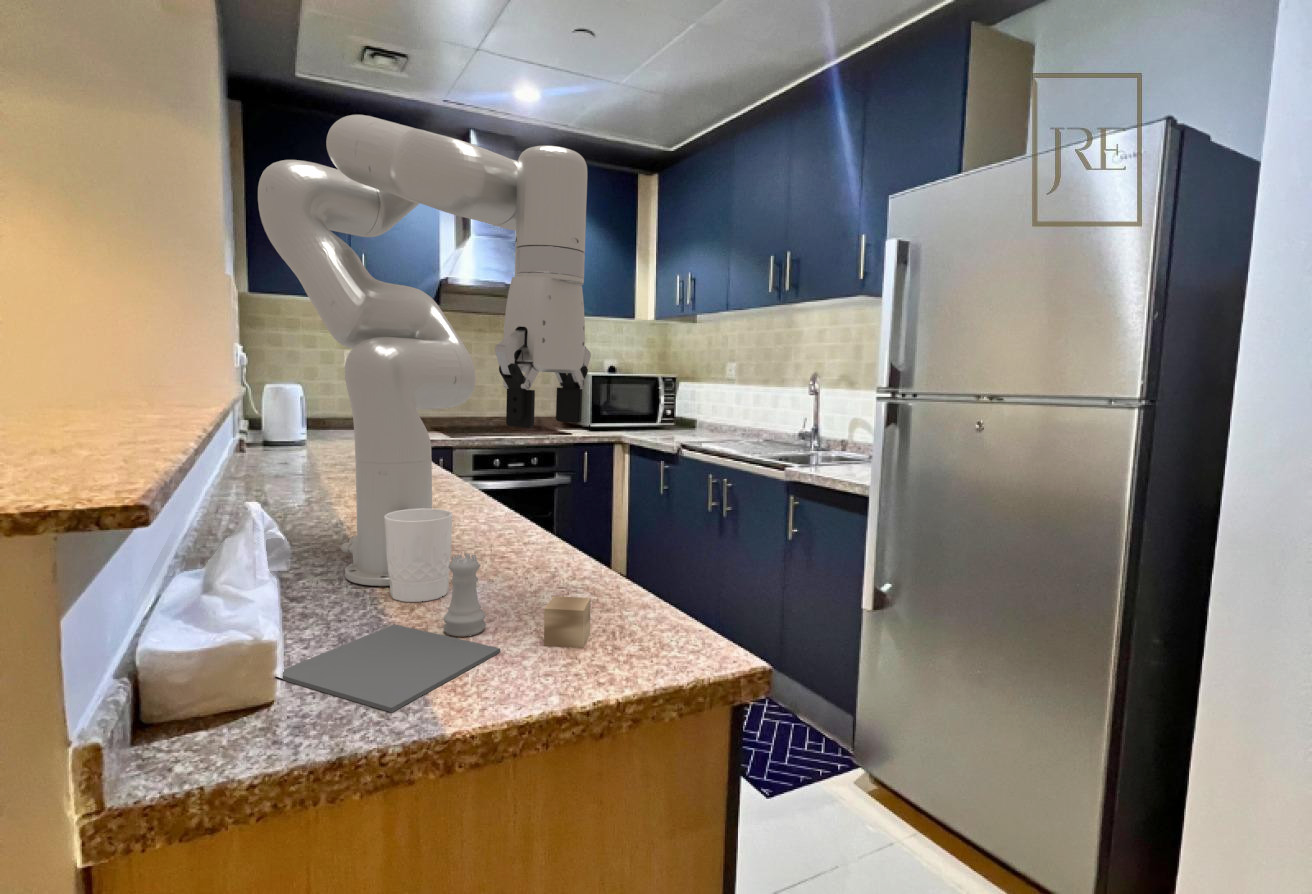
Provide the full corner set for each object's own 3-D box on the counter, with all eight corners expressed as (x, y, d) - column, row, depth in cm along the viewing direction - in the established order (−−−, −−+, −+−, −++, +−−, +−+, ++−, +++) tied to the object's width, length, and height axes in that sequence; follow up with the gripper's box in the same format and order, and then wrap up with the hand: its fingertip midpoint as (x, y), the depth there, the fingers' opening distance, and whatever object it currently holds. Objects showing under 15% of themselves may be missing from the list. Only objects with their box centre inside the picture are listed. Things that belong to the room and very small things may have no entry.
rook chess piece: (474, 640, 72) (474, 564, 71) (434, 635, 73) (434, 560, 72) (493, 625, 76) (493, 553, 75) (455, 621, 77) (455, 550, 76)
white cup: (425, 608, 81) (424, 523, 80) (371, 599, 84) (369, 517, 83) (465, 589, 89) (465, 511, 88) (415, 581, 91) (414, 506, 90)
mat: (274, 677, 62) (274, 673, 62) (394, 627, 75) (394, 624, 75) (391, 712, 56) (391, 707, 56) (500, 652, 69) (500, 648, 69)
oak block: (543, 646, 71) (544, 608, 70) (553, 632, 75) (553, 596, 74) (582, 649, 70) (583, 610, 70) (590, 634, 74) (590, 598, 74)
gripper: (562, 279, 86) (558, 418, 88) (470, 257, 70) (468, 426, 72) (616, 279, 83) (611, 422, 85) (533, 255, 67) (529, 432, 69)
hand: (545, 424), depth 79 cm, fingers open, 9 cm apart
